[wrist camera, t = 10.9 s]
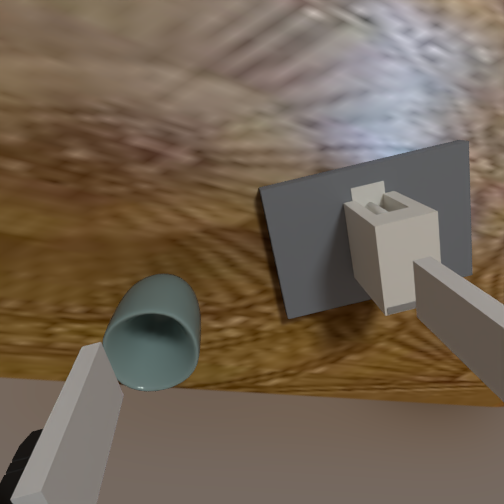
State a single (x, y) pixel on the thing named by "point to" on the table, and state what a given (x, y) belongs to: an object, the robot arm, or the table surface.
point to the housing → (391, 248)
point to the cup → (154, 334)
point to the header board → (371, 197)
